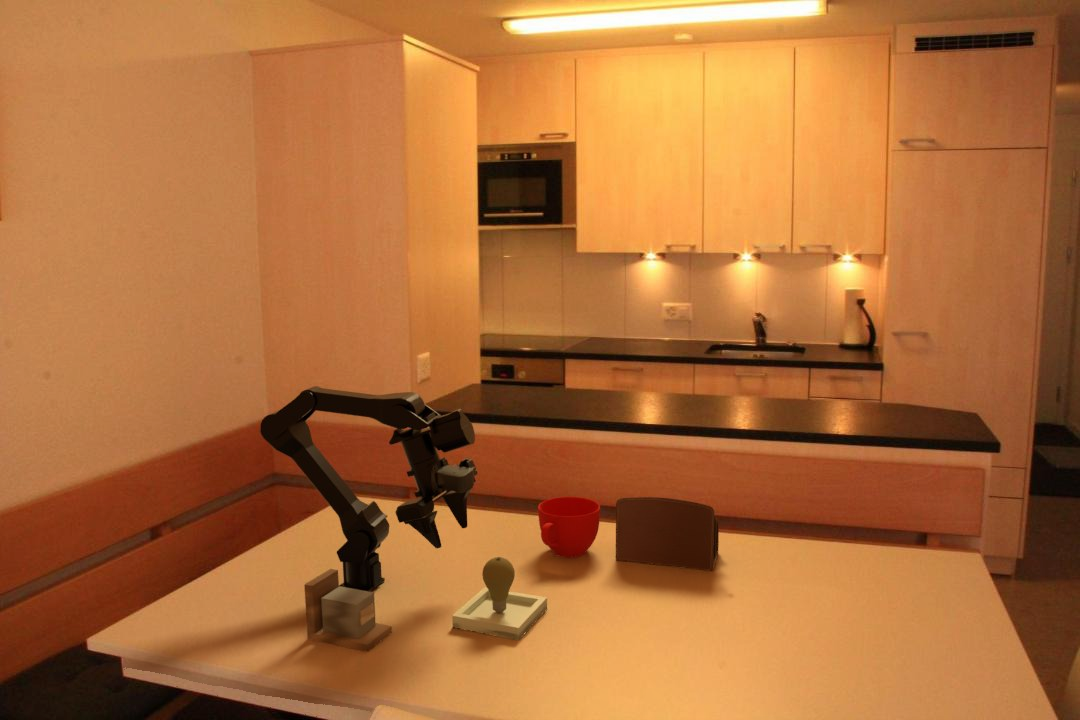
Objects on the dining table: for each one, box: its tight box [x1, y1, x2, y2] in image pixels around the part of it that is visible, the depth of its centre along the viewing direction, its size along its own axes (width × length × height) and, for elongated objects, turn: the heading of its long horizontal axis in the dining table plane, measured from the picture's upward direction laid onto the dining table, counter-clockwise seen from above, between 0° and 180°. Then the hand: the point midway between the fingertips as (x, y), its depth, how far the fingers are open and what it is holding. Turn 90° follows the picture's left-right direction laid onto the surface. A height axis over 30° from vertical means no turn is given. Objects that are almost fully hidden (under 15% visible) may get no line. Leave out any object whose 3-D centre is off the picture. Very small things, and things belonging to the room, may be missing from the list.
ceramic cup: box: [537, 496, 601, 559], centre depth 175 cm, size 13×17×10 cm
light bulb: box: [482, 556, 516, 613], centre depth 146 cm, size 6×6×10 cm
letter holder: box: [615, 496, 720, 572], centre depth 172 cm, size 10×20×14 cm, turn 72°
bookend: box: [303, 568, 393, 653], centre depth 141 cm, size 12×7×10 cm, turn 67°
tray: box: [451, 587, 548, 641], centre depth 147 cm, size 12×12×2 cm
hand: (452, 537), depth 156 cm, fingers open, 9 cm apart
